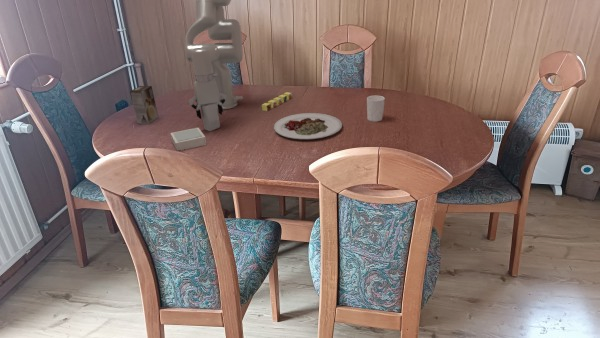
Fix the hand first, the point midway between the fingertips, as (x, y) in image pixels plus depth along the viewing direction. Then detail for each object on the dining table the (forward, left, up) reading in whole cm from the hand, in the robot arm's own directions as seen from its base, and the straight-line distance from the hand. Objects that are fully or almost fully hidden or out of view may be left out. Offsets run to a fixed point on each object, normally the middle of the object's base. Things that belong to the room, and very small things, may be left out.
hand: (210, 115), depth 181 cm
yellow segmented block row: (-41, -14, -7) cm, 44 cm away
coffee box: (+24, -28, -6) cm, 37 cm away
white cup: (-68, +30, -6) cm, 75 cm away
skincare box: (0, 0, -6) cm, 6 cm away
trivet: (+13, +10, -7) cm, 18 cm away
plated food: (-37, +23, -7) cm, 44 cm away
